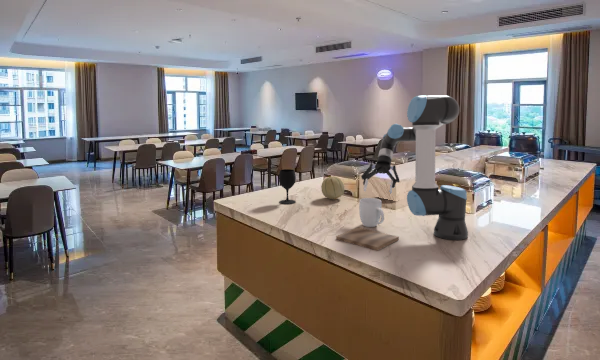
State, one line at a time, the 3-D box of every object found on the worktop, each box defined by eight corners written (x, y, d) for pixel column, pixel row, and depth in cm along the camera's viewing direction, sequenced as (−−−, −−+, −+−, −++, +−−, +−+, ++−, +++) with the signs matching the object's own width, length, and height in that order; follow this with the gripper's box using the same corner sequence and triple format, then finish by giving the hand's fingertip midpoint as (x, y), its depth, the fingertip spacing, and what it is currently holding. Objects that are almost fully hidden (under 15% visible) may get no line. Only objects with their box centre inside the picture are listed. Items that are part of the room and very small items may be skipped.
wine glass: (276, 203, 258) (276, 171, 254) (282, 199, 268) (281, 168, 264) (292, 204, 255) (292, 172, 252) (298, 200, 265) (297, 169, 261)
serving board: (398, 239, 193) (398, 236, 193) (377, 250, 180) (377, 247, 180) (358, 230, 208) (358, 227, 207) (336, 239, 194) (336, 236, 194)
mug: (390, 228, 210) (392, 202, 208) (374, 232, 204) (375, 205, 202) (370, 220, 223) (371, 196, 220) (354, 224, 217) (354, 199, 214)
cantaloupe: (343, 202, 261) (343, 178, 258) (319, 201, 264) (319, 177, 261) (345, 196, 275) (345, 174, 272) (323, 195, 278) (323, 173, 275)
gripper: (408, 164, 229) (402, 197, 219) (363, 161, 239) (355, 192, 229) (407, 155, 224) (400, 189, 213) (361, 153, 234) (352, 185, 223)
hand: (377, 191), depth 221 cm, fingers open, 13 cm apart
